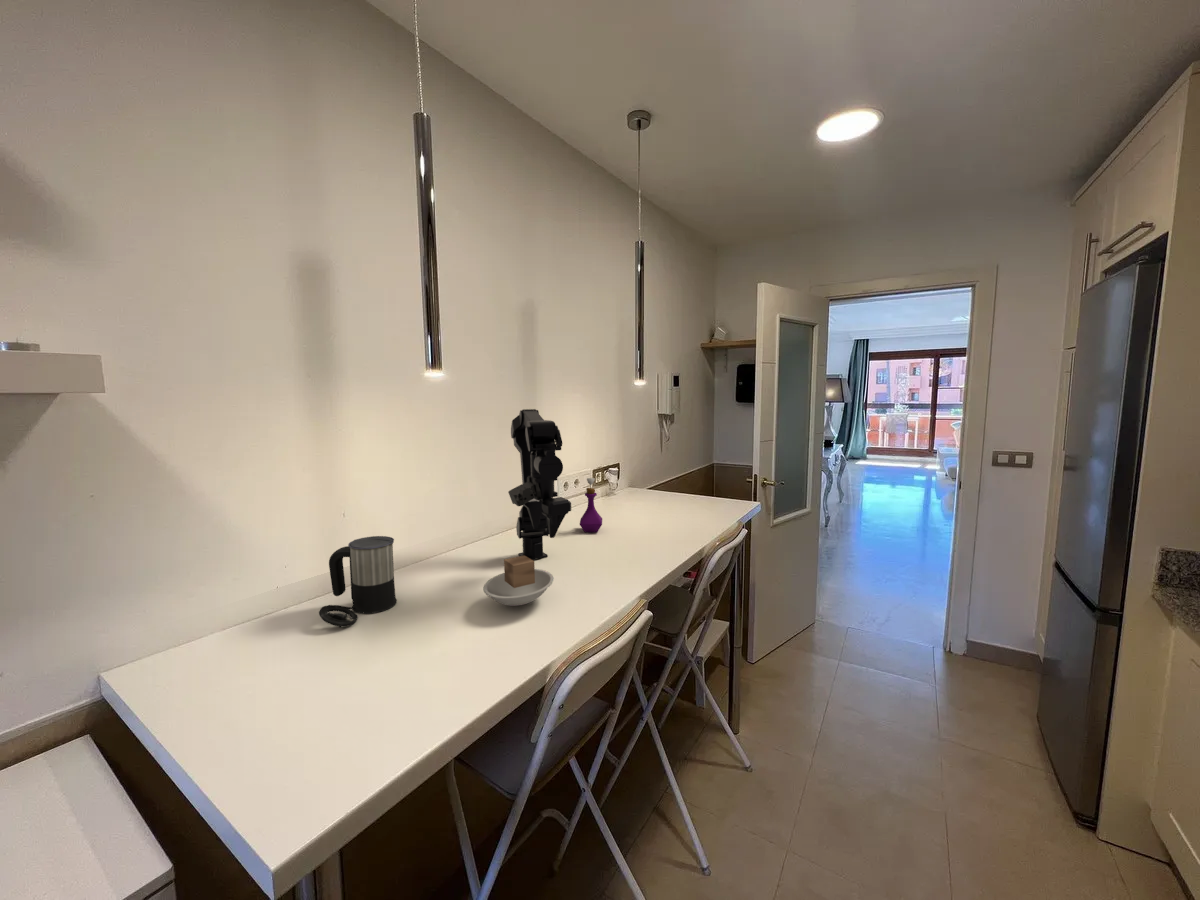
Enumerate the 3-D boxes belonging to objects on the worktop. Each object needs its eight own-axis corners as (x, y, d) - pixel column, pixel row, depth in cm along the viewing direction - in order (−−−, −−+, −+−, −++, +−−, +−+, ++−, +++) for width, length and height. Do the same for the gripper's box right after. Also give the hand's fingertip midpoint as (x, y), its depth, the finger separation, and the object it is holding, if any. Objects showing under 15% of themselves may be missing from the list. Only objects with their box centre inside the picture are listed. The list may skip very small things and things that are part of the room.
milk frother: (399, 595, 118) (395, 533, 117) (392, 624, 103) (388, 554, 102) (332, 602, 114) (327, 539, 113) (315, 635, 99) (309, 562, 98)
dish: (515, 584, 124) (515, 564, 124) (566, 594, 118) (566, 573, 117) (468, 613, 108) (467, 591, 108) (524, 626, 102) (523, 602, 102)
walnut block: (504, 581, 113) (504, 559, 113) (524, 576, 116) (524, 555, 116) (514, 588, 109) (513, 565, 109) (534, 583, 112) (534, 561, 111)
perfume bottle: (602, 533, 167) (601, 480, 164) (579, 534, 167) (578, 480, 165) (602, 527, 174) (602, 476, 172) (580, 527, 174) (580, 476, 172)
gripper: (497, 469, 128) (499, 528, 130) (529, 482, 113) (530, 549, 115) (537, 465, 134) (538, 521, 137) (572, 476, 119) (572, 540, 121)
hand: (543, 532), depth 127 cm, fingers open, 9 cm apart
